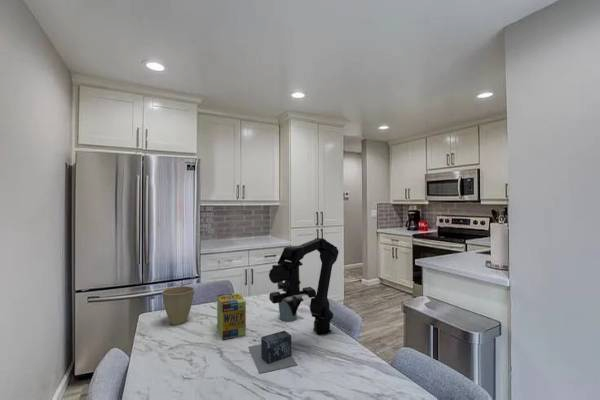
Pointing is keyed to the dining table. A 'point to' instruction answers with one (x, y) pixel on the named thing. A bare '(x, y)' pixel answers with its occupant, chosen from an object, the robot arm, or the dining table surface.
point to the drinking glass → (286, 312)
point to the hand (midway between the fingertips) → (293, 315)
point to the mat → (273, 366)
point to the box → (276, 346)
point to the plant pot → (178, 303)
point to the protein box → (231, 315)
